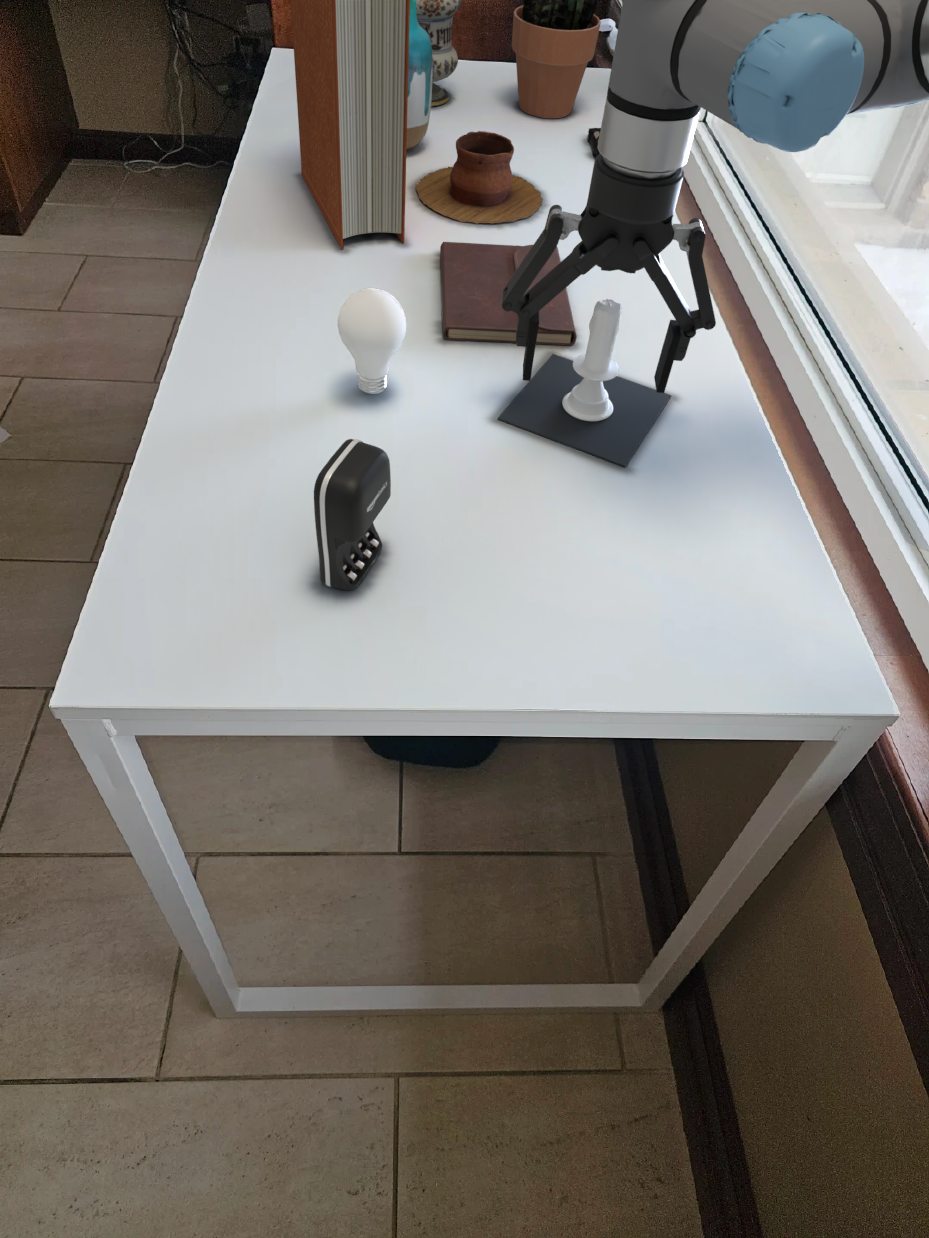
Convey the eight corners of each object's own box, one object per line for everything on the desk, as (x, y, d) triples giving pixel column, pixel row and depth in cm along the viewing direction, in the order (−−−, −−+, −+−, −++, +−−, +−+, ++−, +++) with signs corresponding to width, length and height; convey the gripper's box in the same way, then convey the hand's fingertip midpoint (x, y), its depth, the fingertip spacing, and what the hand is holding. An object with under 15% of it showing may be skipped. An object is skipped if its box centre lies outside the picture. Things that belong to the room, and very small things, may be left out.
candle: (555, 412, 89) (575, 305, 80) (571, 386, 93) (592, 280, 84) (604, 428, 88) (630, 321, 79) (619, 400, 92) (645, 294, 82)
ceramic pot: (565, 215, 120) (574, 161, 114) (450, 233, 114) (453, 177, 108) (505, 161, 130) (510, 110, 124) (395, 176, 124) (396, 122, 118)
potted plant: (507, 89, 149) (526, -95, 130) (586, 99, 149) (616, -85, 130) (501, 119, 140) (520, -75, 121) (585, 129, 140) (617, -63, 121)
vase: (396, 126, 135) (398, -22, 121) (444, 149, 131) (452, -2, 116) (344, 142, 130) (339, -11, 115) (392, 167, 125) (393, 11, 111)
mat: (671, 396, 93) (671, 395, 93) (625, 467, 85) (625, 466, 85) (552, 355, 97) (552, 353, 96) (497, 419, 88) (497, 417, 88)
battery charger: (359, 601, 71) (356, 496, 62) (317, 586, 72) (309, 480, 63) (394, 547, 75) (397, 441, 67) (355, 533, 76) (352, 427, 67)
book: (404, 243, 111) (411, -44, 88) (341, 250, 108) (332, -44, 86) (356, 168, 124) (351, -99, 101) (299, 172, 122) (282, -100, 99)
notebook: (442, 339, 97) (443, 323, 95) (440, 253, 110) (440, 238, 108) (575, 346, 98) (578, 330, 97) (557, 260, 111) (559, 245, 109)
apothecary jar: (464, 109, 142) (473, -24, 128) (392, 111, 139) (393, -25, 125) (444, 82, 149) (451, -46, 136) (376, 83, 146) (376, -48, 133)
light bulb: (332, 405, 88) (328, 305, 79) (349, 369, 92) (346, 270, 84) (397, 416, 87) (399, 316, 79) (410, 378, 92) (413, 281, 83)
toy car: (585, 135, 139) (588, 117, 136) (610, 136, 139) (613, 118, 137) (594, 161, 132) (597, 142, 130) (620, 163, 132) (624, 144, 130)
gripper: (780, 156, 75) (709, 369, 91) (492, 127, 74) (472, 347, 90) (798, 194, 70) (719, 412, 86) (490, 163, 69) (469, 389, 85)
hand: (592, 379), depth 88 cm, fingers open, 13 cm apart
